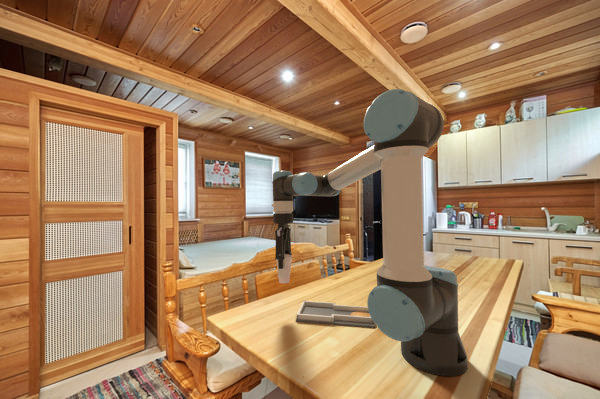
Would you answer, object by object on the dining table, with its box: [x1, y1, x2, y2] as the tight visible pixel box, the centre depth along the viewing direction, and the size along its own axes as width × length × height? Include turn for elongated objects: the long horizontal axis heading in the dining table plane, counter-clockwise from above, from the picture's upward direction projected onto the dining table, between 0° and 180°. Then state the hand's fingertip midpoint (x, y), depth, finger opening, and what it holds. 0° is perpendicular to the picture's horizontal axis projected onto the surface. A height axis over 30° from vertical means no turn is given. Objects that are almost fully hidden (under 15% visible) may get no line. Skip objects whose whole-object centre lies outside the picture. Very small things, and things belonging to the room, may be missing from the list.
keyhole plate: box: [295, 300, 376, 329], centre depth 89 cm, size 14×26×2 cm, turn 79°
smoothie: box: [275, 254, 293, 284], centre depth 93 cm, size 6×6×14 cm
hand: (284, 274), depth 93 cm, fingers closed on smoothie, 6 cm apart
